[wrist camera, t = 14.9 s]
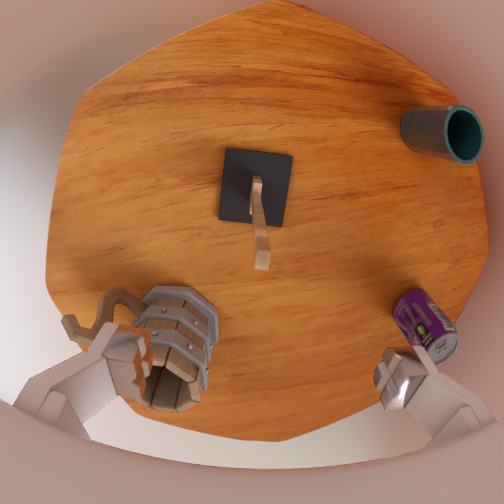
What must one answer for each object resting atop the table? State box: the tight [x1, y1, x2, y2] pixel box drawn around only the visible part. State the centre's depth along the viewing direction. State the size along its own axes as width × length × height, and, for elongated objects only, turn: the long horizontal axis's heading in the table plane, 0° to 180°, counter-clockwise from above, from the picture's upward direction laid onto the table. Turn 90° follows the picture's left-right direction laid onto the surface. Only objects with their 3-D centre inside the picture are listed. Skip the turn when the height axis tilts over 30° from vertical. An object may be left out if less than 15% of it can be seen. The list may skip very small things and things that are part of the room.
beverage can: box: [393, 289, 460, 366], centre depth 37 cm, size 7×7×12 cm
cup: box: [400, 105, 484, 165], centre depth 27 cm, size 7×7×10 cm
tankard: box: [61, 285, 219, 413], centre depth 35 cm, size 20×13×15 cm, turn 44°
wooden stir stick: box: [249, 175, 271, 270], centre depth 25 cm, size 3×1×20 cm, turn 173°
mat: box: [219, 148, 293, 227], centre depth 35 cm, size 9×8×1 cm
